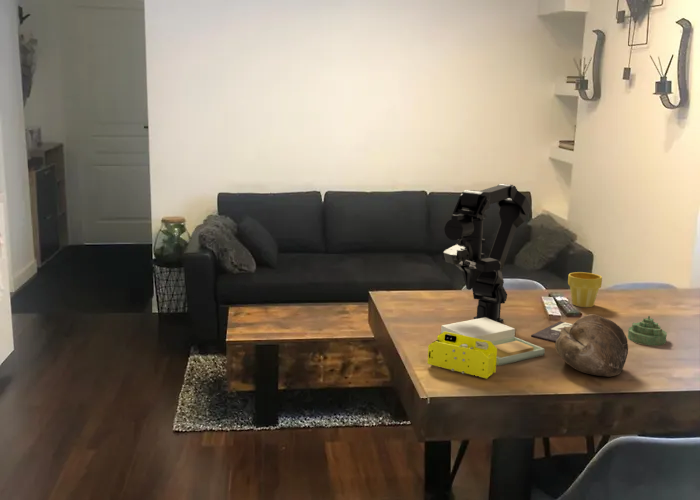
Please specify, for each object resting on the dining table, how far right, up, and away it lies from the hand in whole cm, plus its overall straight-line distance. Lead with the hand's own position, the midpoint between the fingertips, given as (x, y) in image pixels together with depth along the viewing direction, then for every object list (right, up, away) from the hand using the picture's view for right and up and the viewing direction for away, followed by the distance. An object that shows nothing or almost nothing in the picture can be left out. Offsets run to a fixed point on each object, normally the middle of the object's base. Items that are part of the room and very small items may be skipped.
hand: (469, 289), depth 215 cm
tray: (+7, -16, -16) cm, 24 cm away
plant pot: (+42, -7, +31) cm, 52 cm away
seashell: (+26, -19, -25) cm, 41 cm away
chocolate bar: (+26, -13, +2) cm, 30 cm away
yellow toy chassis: (-6, -19, -29) cm, 35 cm away
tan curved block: (+8, -14, -18) cm, 25 cm away
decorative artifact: (+49, -14, -2) cm, 52 cm away
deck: (+1, -14, -7) cm, 16 cm away
